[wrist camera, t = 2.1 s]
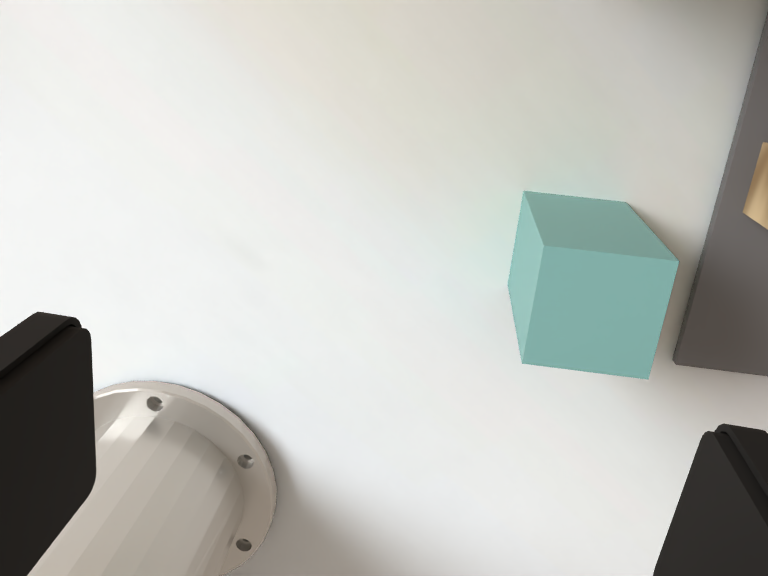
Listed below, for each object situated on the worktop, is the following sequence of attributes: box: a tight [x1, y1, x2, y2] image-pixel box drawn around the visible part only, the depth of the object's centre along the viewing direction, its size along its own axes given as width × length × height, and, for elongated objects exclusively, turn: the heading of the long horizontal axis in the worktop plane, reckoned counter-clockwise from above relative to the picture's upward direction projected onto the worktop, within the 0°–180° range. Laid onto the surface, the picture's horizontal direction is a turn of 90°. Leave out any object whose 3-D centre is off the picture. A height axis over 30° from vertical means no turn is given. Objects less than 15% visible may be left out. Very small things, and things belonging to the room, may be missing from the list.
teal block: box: [508, 191, 679, 379], centre depth 28 cm, size 4×4×8 cm
